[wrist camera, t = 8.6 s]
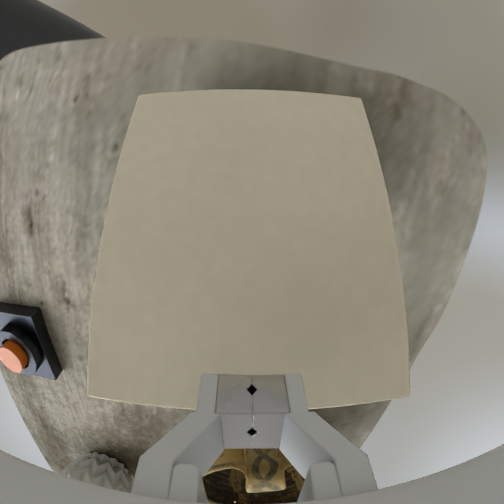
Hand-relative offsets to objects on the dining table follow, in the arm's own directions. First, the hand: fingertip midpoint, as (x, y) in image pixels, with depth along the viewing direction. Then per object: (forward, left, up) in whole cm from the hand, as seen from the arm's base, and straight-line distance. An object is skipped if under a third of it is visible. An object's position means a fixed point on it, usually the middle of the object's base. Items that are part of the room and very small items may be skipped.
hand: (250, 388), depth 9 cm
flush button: (+16, -29, -16) cm, 37 cm away
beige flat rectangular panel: (-4, 0, -6) cm, 7 cm away
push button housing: (+16, -29, -20) cm, 39 cm away
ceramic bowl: (+29, +2, -20) cm, 35 cm away
